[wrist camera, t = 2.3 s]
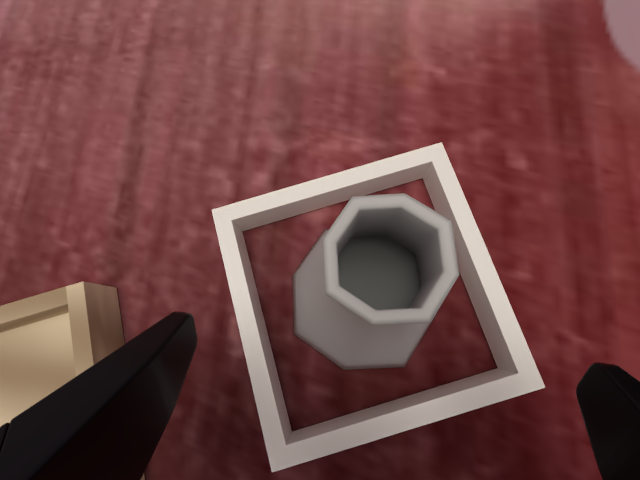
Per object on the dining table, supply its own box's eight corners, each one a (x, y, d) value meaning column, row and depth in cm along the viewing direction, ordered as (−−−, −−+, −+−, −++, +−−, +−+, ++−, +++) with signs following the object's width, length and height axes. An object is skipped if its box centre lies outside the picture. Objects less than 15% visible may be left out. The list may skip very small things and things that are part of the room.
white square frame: (520, 380, 17) (545, 387, 15) (279, 455, 16) (271, 472, 14) (431, 160, 19) (441, 142, 17) (224, 221, 19) (211, 209, 17)
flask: (271, 347, 18) (188, 370, 8) (312, 211, 19) (286, 89, 9) (418, 391, 17) (529, 479, 7) (448, 245, 18) (572, 152, 9)
